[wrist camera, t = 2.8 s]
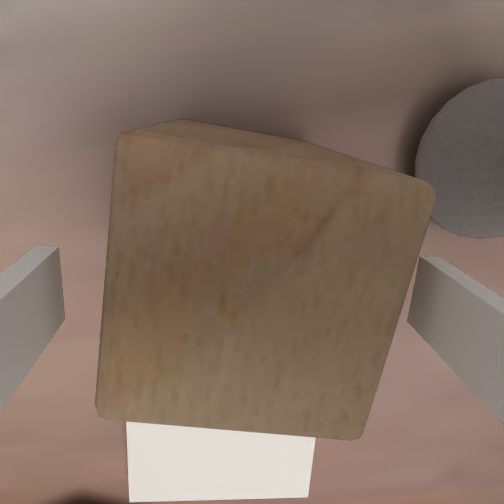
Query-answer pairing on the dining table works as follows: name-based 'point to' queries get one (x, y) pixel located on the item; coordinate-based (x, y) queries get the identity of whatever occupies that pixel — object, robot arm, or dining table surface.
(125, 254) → the wooden block
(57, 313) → the robot arm
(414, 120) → the dining table surface
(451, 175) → the coffee pot
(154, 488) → the white square plate
